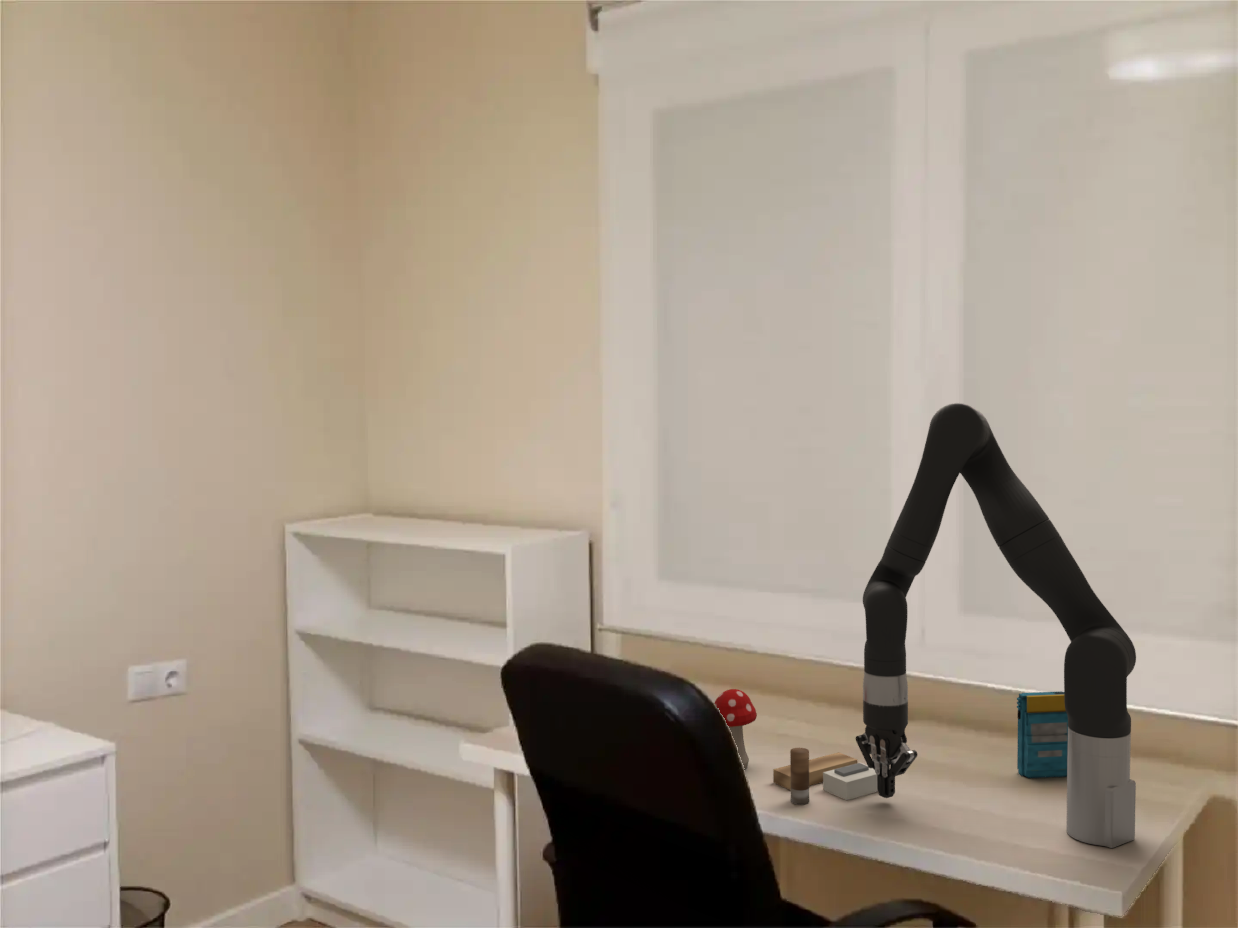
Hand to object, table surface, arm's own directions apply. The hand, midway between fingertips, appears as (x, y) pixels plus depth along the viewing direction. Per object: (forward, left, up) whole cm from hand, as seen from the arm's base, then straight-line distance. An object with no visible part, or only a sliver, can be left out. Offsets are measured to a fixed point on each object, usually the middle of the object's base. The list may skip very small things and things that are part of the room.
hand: (886, 796), depth 197 cm
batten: (+16, +1, -1) cm, 16 cm away
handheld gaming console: (-7, -34, -2) cm, 34 cm away
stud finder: (+8, 0, -2) cm, 8 cm away
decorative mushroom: (+29, +10, -2) cm, 31 cm away
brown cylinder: (+9, +11, -1) cm, 15 cm away
